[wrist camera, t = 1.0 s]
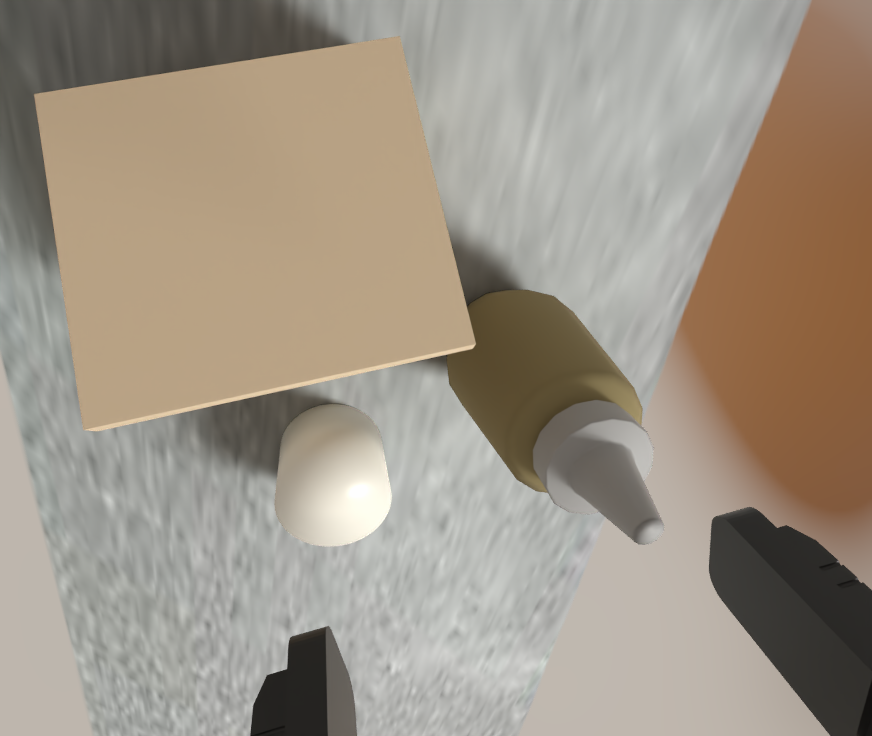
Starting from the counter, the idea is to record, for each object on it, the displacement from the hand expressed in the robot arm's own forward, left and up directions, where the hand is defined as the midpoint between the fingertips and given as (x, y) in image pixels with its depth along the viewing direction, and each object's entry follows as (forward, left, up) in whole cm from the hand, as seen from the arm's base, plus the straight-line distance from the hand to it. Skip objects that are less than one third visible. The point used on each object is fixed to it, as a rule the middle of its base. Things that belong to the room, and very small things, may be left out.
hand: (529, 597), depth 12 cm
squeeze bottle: (+5, +6, -24) cm, 25 cm away
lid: (-6, -5, -12) cm, 15 cm away
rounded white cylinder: (+11, -6, -24) cm, 27 cm away
